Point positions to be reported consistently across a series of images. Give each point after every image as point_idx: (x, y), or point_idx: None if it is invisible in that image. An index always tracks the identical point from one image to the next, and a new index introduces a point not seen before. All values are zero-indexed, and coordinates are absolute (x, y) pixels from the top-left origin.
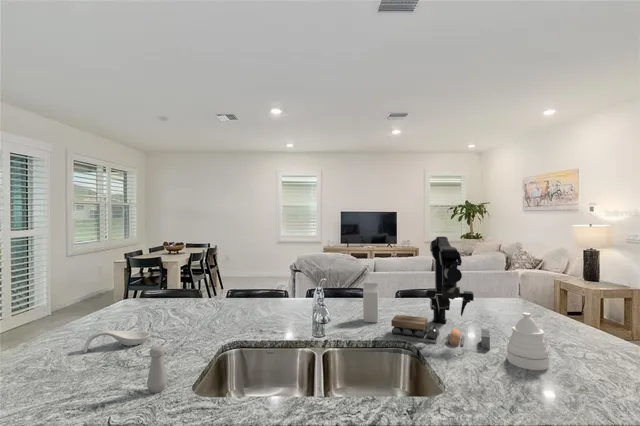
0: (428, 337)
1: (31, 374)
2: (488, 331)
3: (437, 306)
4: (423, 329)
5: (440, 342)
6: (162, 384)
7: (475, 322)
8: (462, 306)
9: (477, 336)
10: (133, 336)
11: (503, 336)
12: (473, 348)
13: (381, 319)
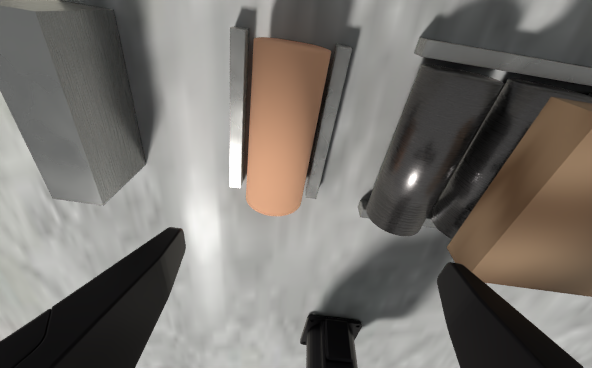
0: (480, 76)
1: None
2: (40, 162)
3: (548, 363)
4: (562, 100)
5: (382, 73)
6: None
7: (200, 335)
8: (33, 364)
9: (174, 215)
10: None
11: (70, 235)
12: (165, 3)
13: (584, 322)
